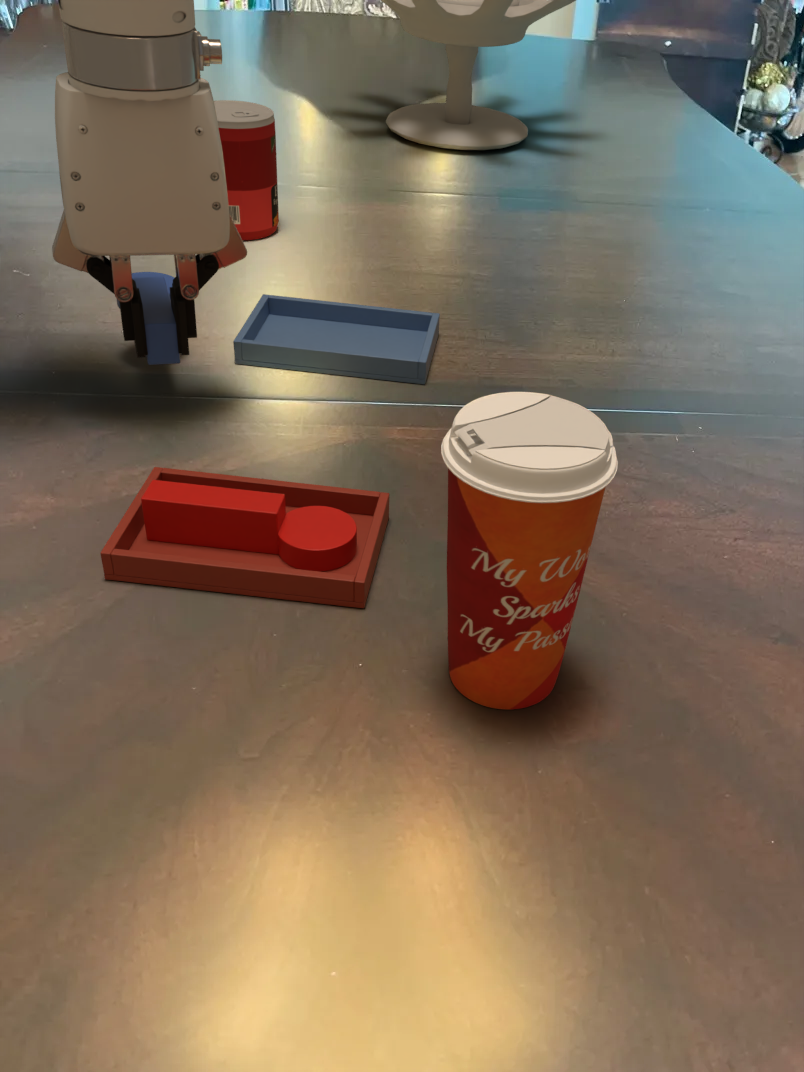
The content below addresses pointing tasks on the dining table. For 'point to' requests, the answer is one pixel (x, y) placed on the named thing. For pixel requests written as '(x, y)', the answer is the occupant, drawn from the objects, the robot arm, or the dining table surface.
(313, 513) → the red spoon
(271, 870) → the dining table surface
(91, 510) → the dining table surface
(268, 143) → the canned food
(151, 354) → the blue spoon
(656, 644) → the dining table surface
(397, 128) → the beige pedestal fruit bowl
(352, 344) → the blue tray
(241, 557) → the red tray
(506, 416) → the coffee cup
